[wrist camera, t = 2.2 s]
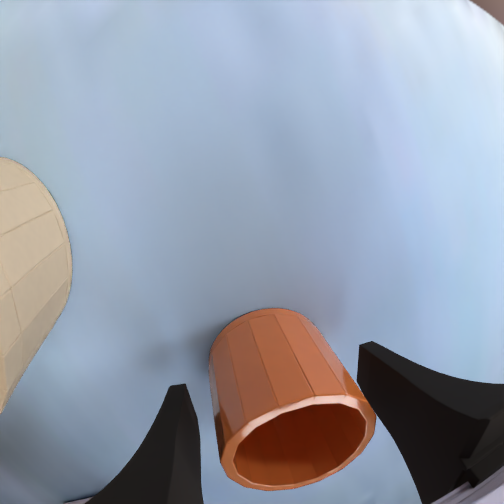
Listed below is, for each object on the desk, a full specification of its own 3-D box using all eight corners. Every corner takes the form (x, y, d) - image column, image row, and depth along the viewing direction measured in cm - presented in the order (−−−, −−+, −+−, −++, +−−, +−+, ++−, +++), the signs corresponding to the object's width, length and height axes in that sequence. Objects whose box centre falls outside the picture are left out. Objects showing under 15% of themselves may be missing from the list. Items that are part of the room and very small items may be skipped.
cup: (249, 414, 15) (273, 502, 10) (184, 350, 13) (186, 451, 8) (337, 361, 15) (391, 439, 10) (288, 284, 13) (344, 363, 8)
